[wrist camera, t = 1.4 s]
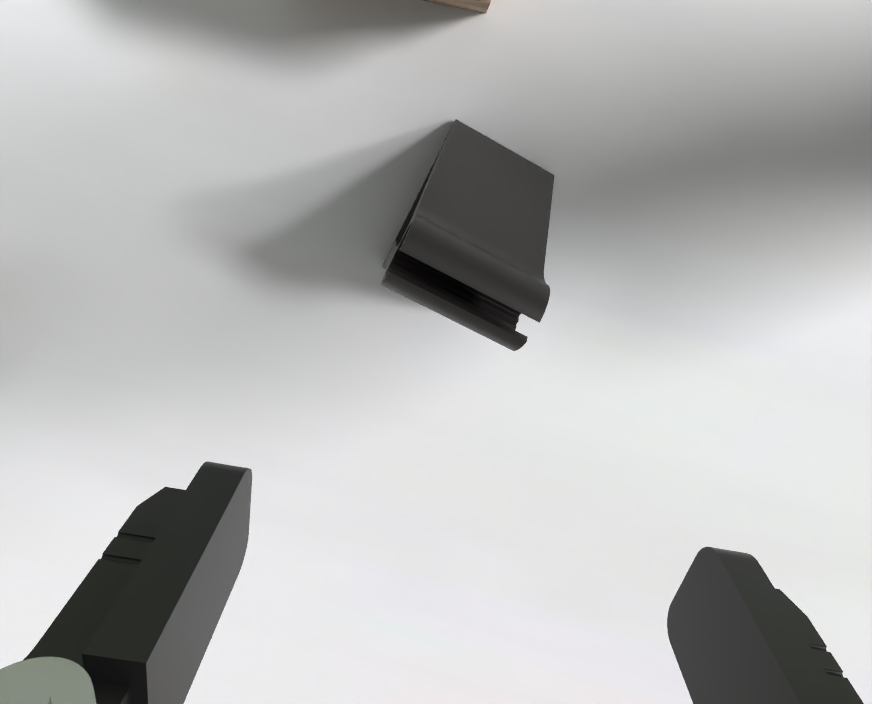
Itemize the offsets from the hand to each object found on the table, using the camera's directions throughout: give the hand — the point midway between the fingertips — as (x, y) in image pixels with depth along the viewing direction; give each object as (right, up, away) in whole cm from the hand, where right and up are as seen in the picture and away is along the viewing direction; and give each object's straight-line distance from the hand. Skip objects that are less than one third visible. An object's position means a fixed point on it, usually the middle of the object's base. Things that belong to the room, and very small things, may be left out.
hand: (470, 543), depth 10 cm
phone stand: (+1, +11, +22) cm, 25 cm away
